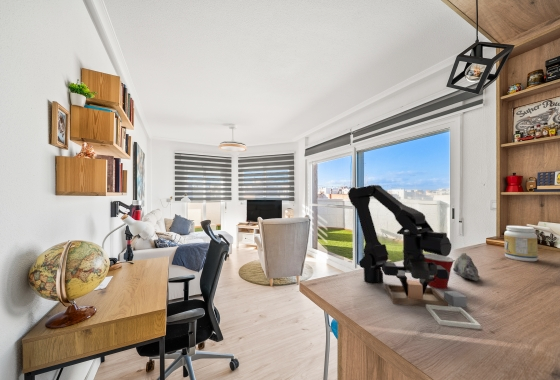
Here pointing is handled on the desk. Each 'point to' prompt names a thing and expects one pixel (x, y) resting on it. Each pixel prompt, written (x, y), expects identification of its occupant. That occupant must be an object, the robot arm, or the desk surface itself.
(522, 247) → the supplement tub
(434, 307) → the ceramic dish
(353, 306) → the desk surface
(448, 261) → the plastic cup
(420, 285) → the terracotta block
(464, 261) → the mineral rock
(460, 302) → the slate rubber block
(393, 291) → the walnut box
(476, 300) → the desk surface
